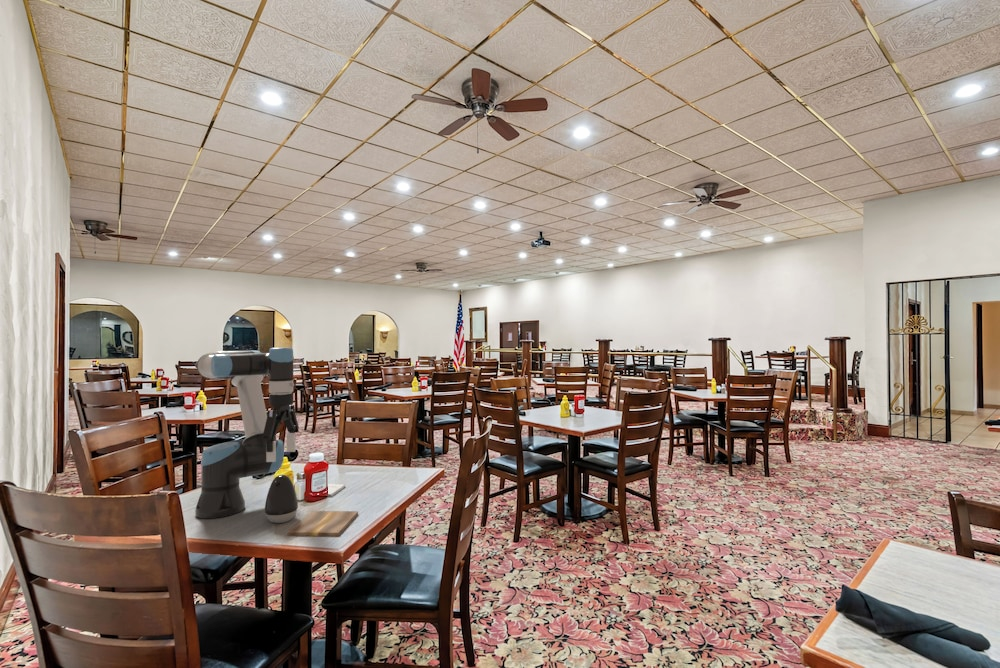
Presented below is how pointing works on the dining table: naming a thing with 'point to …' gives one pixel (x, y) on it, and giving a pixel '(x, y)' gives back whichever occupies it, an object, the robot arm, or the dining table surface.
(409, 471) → the dining table surface
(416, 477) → the dining table surface
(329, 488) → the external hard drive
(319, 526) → the board
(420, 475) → the dining table surface
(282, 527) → the dining table surface
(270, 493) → the dark grey rounded ovoid
